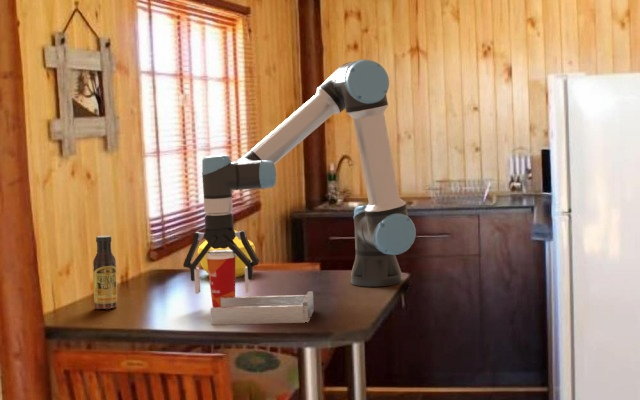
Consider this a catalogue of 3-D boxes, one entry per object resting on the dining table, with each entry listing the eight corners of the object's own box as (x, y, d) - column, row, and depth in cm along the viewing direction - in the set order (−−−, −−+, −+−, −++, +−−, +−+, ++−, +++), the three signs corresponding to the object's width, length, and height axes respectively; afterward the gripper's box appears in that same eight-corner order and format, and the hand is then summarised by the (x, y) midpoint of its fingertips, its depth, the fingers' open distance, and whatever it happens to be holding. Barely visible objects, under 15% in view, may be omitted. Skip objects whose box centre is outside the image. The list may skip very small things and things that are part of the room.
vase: (225, 268, 313) (222, 211, 311) (268, 272, 302) (265, 213, 300) (186, 278, 298) (183, 218, 296) (230, 282, 287) (227, 220, 285)
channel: (313, 310, 243) (312, 291, 242) (308, 322, 230) (307, 302, 229) (222, 312, 245) (221, 293, 245) (211, 324, 232) (210, 304, 231)
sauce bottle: (97, 311, 253) (92, 238, 251) (92, 307, 259) (87, 236, 257) (121, 308, 256) (116, 236, 254) (115, 304, 262) (110, 233, 260)
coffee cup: (209, 304, 256) (205, 250, 255) (239, 302, 257) (236, 248, 256) (208, 311, 248) (204, 254, 247) (239, 309, 249) (236, 253, 247)
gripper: (267, 210, 253) (270, 288, 255) (176, 213, 255) (180, 290, 257) (262, 213, 245) (266, 293, 247) (169, 216, 248) (173, 296, 250)
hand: (222, 292), depth 252 cm, fingers open, 13 cm apart
